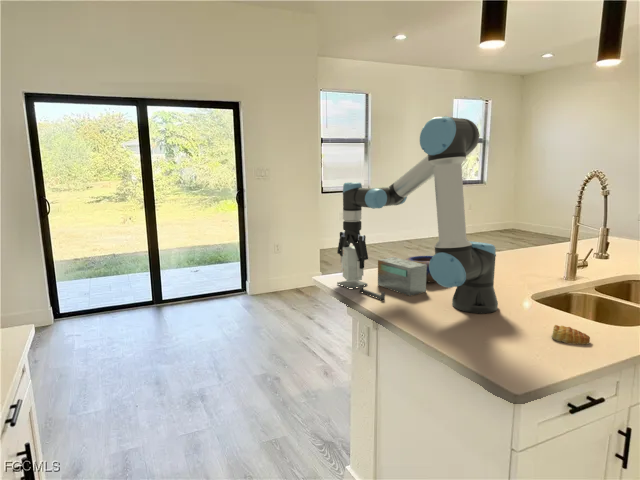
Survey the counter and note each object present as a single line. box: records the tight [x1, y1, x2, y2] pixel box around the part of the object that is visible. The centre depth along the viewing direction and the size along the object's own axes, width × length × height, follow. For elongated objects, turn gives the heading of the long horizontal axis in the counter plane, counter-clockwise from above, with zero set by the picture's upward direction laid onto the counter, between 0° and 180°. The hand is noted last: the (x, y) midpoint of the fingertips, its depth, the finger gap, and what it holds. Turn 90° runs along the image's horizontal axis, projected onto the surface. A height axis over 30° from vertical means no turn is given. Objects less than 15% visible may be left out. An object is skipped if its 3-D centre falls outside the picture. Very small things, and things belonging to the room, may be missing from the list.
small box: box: [342, 245, 363, 281], centre depth 176 cm, size 8×6×13 cm
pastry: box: [550, 324, 591, 346], centre depth 120 cm, size 9×7×4 cm
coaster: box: [336, 279, 368, 289], centre depth 177 cm, size 9×9×1 cm
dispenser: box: [359, 256, 427, 301], centre depth 167 cm, size 18×21×11 cm
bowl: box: [405, 255, 436, 283], centre depth 184 cm, size 18×18×10 cm
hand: (352, 273), depth 177 cm, fingers closed on small box, 10 cm apart
